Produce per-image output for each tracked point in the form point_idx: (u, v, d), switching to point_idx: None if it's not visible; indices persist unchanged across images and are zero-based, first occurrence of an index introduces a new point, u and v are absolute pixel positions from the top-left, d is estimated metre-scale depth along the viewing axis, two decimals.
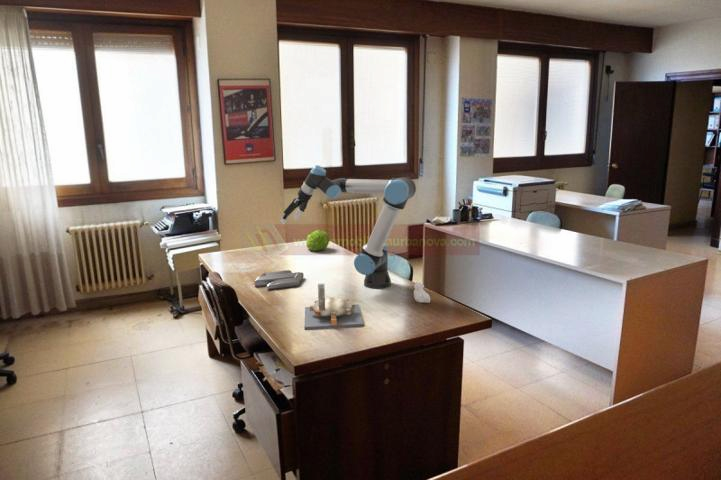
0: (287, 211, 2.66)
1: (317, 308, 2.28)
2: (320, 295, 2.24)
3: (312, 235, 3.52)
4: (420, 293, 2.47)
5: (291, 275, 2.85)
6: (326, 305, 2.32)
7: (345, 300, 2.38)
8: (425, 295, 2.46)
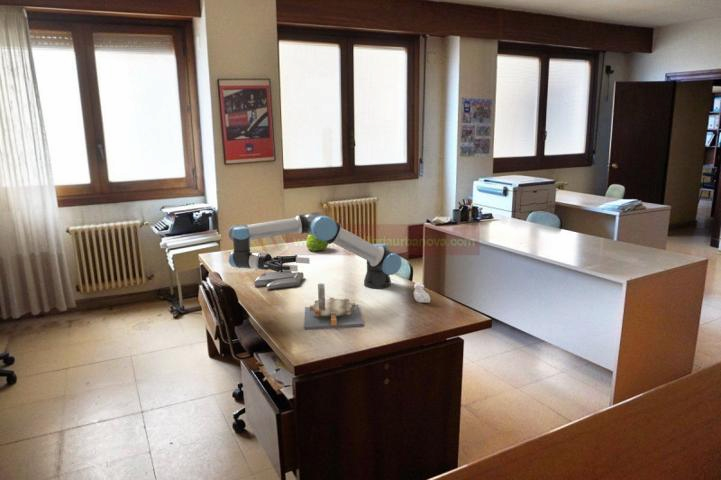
0: (275, 268, 2.19)
1: (317, 308, 2.28)
2: (320, 295, 2.24)
3: (312, 235, 3.52)
4: (420, 293, 2.47)
5: (291, 275, 2.85)
6: (326, 305, 2.32)
7: (345, 300, 2.38)
8: (425, 295, 2.46)
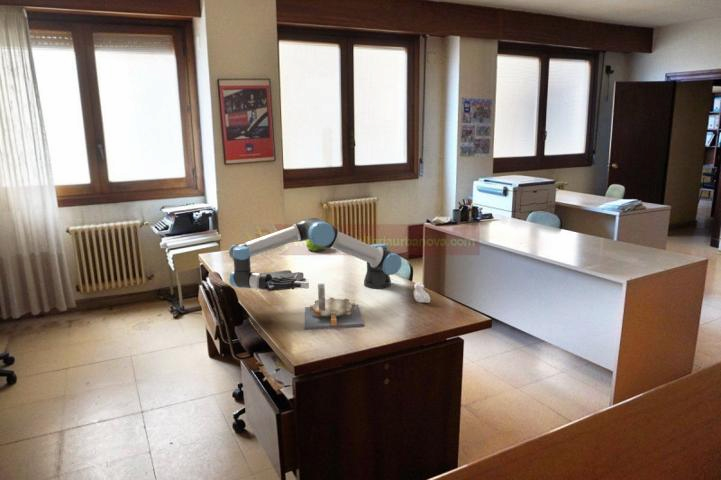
0: (286, 285, 2.25)
1: (317, 308, 2.28)
2: (320, 295, 2.24)
3: None
4: (420, 293, 2.47)
5: (291, 275, 2.85)
6: (326, 305, 2.32)
7: (345, 300, 2.38)
8: (425, 295, 2.46)
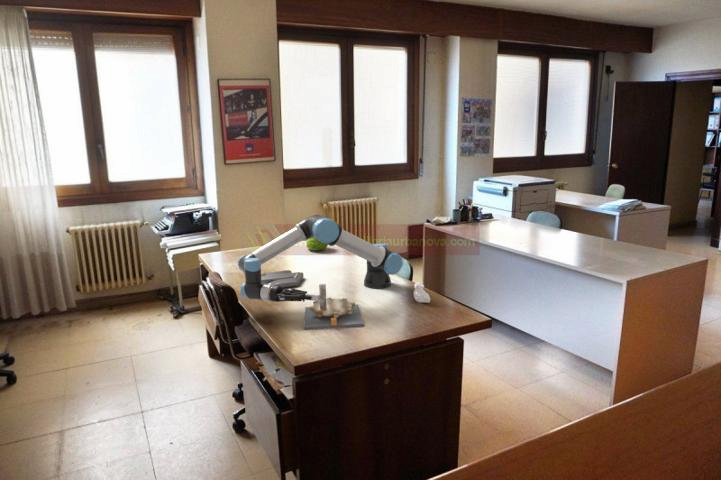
0: (297, 298, 2.24)
1: (318, 309, 2.28)
2: (322, 296, 2.23)
3: None
4: (420, 293, 2.47)
5: (291, 275, 2.85)
6: (326, 305, 2.32)
7: (344, 300, 2.39)
8: (425, 295, 2.46)
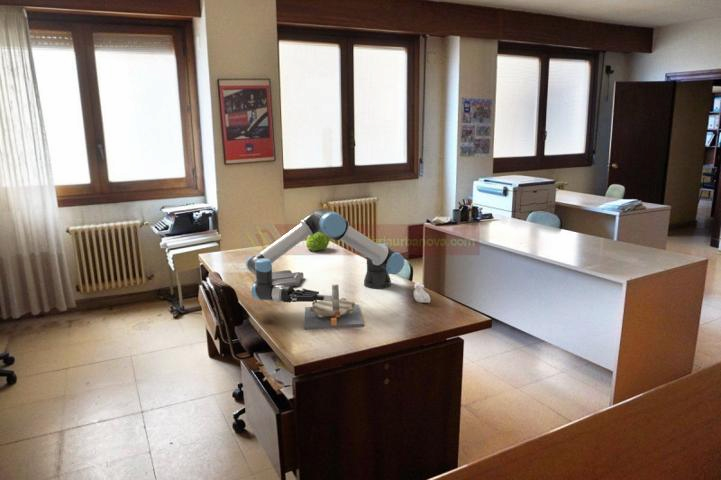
0: (309, 298, 2.23)
1: (330, 311, 2.25)
2: (337, 296, 2.23)
3: (312, 235, 3.52)
4: (420, 293, 2.47)
5: (291, 275, 2.85)
6: (329, 307, 2.30)
7: None
8: (425, 295, 2.46)
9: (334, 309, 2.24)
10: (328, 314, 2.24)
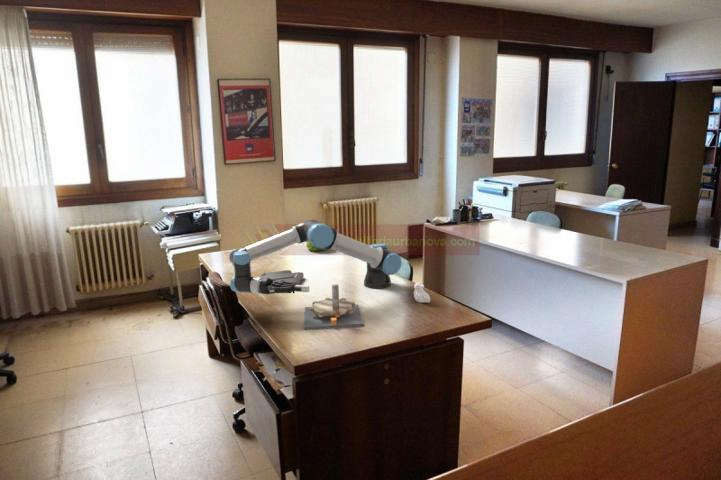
0: (287, 290, 2.25)
1: (330, 311, 2.25)
2: (337, 296, 2.23)
3: None
4: (420, 293, 2.47)
5: (291, 275, 2.85)
6: (329, 307, 2.30)
7: (329, 299, 2.40)
8: (425, 295, 2.46)
9: (334, 309, 2.24)
10: (328, 314, 2.24)
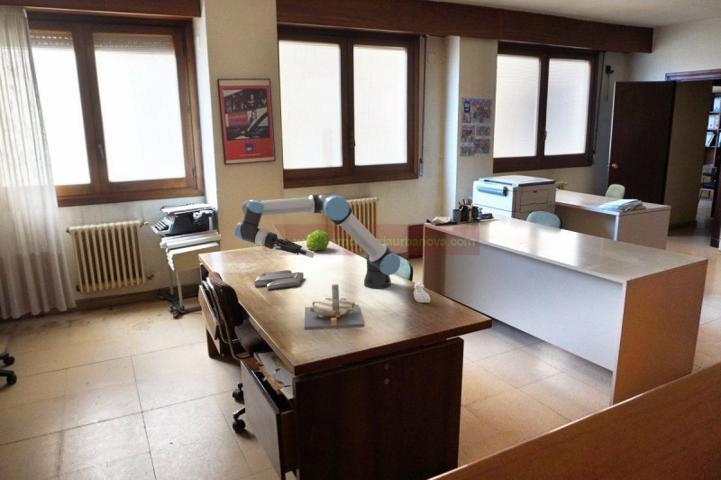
0: (293, 250, 2.29)
1: (330, 311, 2.25)
2: (337, 296, 2.23)
3: (312, 235, 3.52)
4: (420, 293, 2.47)
5: (291, 275, 2.85)
6: (329, 307, 2.30)
7: (329, 299, 2.40)
8: (425, 295, 2.46)
9: (334, 309, 2.24)
10: (328, 314, 2.24)
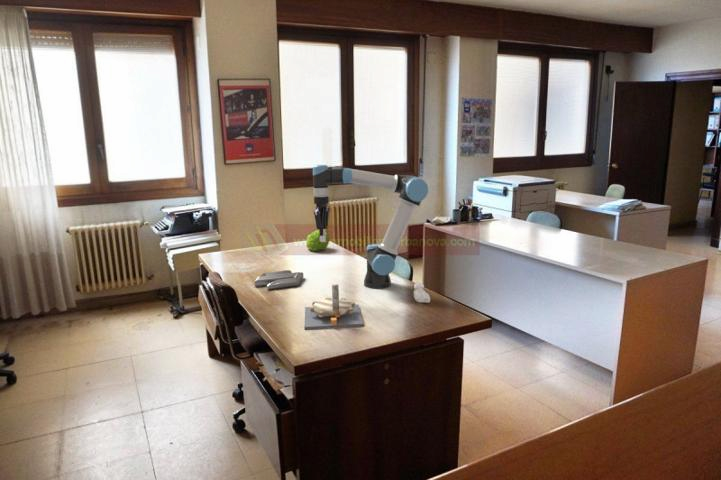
0: (318, 226, 2.50)
1: (330, 311, 2.25)
2: (337, 296, 2.23)
3: (312, 235, 3.52)
4: (420, 293, 2.47)
5: (291, 275, 2.85)
6: (329, 307, 2.30)
7: (329, 299, 2.40)
8: (425, 295, 2.46)
9: (334, 309, 2.24)
10: (328, 314, 2.24)
